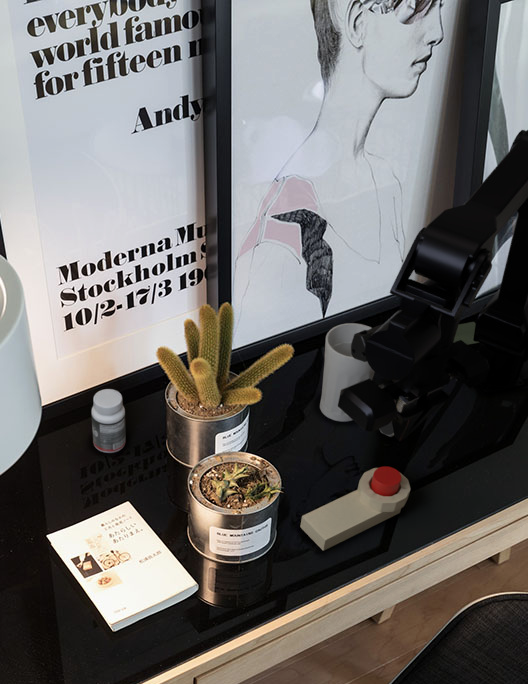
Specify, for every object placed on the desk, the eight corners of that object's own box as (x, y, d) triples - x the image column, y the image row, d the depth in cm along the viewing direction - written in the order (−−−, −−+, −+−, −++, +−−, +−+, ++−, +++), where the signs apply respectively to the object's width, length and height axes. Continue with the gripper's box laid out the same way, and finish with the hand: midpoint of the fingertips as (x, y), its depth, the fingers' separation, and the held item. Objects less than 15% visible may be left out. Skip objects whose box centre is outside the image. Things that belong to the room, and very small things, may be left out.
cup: (366, 391, 143) (382, 324, 133) (369, 426, 138) (386, 359, 128) (313, 388, 143) (325, 321, 134) (314, 424, 139) (326, 357, 129)
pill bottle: (93, 432, 138) (90, 386, 132) (125, 431, 138) (124, 386, 132) (93, 454, 136) (90, 409, 129) (125, 453, 136) (124, 408, 129)
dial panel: (464, 331, 151) (469, 314, 149) (488, 362, 146) (494, 345, 144) (376, 347, 149) (380, 331, 147) (398, 380, 144) (402, 363, 142)
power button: (386, 473, 127) (389, 462, 125) (404, 490, 125) (407, 479, 123) (365, 483, 126) (367, 472, 124) (382, 500, 124) (385, 489, 122)
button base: (382, 482, 131) (388, 461, 128) (413, 511, 127) (420, 490, 124) (296, 523, 127) (300, 502, 123) (326, 554, 123) (331, 534, 120)
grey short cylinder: (374, 437, 137) (380, 410, 133) (390, 418, 139) (397, 392, 135) (392, 445, 135) (399, 419, 131) (408, 426, 138) (416, 400, 134)
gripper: (442, 274, 114) (413, 378, 126) (318, 322, 108) (301, 427, 120) (509, 321, 108) (472, 426, 120) (382, 375, 102) (356, 479, 114)
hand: (399, 437), depth 119 cm, fingers closed
